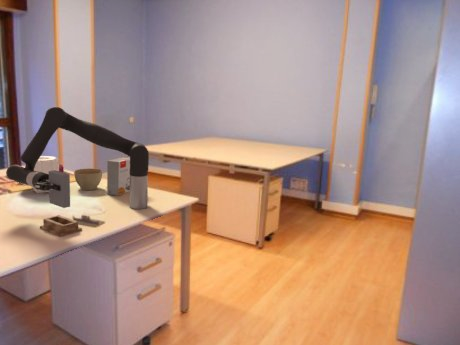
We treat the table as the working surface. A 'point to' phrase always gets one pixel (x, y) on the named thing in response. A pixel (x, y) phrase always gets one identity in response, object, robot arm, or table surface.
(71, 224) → the rack
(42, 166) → the ribbed cylinder on disc
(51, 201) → the grey upright flat block
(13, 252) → the table surface
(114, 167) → the hard drive box
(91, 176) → the planter bowl
